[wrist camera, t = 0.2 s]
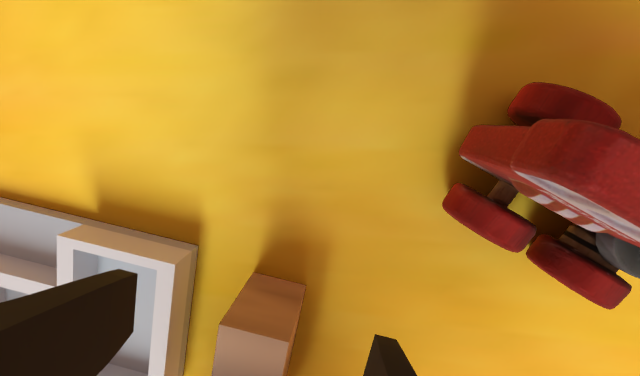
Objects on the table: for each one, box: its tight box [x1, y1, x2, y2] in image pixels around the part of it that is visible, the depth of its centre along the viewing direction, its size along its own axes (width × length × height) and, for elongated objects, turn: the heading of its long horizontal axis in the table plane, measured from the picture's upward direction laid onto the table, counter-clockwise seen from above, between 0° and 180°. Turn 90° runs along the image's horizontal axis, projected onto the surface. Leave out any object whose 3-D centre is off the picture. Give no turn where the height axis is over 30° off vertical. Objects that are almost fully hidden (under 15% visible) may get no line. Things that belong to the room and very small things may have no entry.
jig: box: [0, 197, 198, 376], centre depth 20 cm, size 10×14×3 cm
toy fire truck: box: [442, 82, 640, 309], centre depth 12 cm, size 7×12×10 cm, turn 61°
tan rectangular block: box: [212, 272, 306, 376], centre depth 18 cm, size 8×3×5 cm, turn 169°
